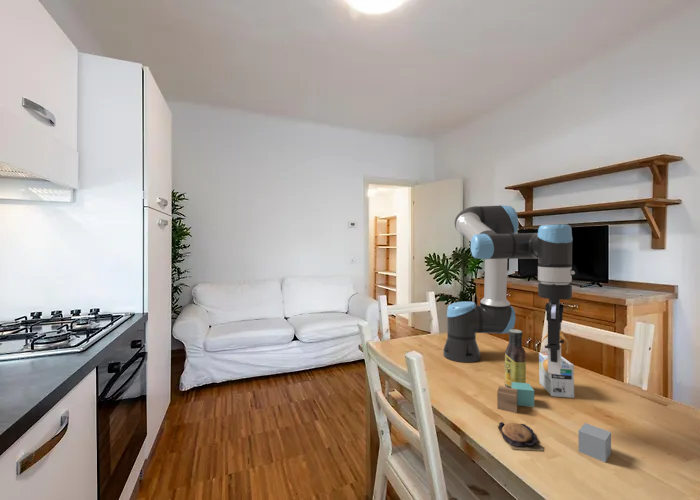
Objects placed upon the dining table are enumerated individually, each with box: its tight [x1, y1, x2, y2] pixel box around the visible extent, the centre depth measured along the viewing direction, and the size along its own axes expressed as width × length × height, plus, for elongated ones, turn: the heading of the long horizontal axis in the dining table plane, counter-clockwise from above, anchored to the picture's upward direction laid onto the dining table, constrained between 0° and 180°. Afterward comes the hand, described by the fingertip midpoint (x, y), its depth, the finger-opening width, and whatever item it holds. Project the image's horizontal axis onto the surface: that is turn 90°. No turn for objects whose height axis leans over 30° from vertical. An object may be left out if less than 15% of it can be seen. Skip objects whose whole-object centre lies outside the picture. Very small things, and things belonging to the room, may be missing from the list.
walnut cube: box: [496, 385, 518, 414], centre depth 94 cm, size 5×5×5 cm
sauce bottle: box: [504, 328, 527, 388], centre depth 105 cm, size 6×6×20 cm
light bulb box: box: [538, 352, 575, 399], centre depth 104 cm, size 11×7×11 cm, turn 168°
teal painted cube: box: [512, 382, 535, 408], centre depth 97 cm, size 5×5×5 cm
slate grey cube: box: [577, 422, 612, 463], centre depth 73 cm, size 5×5×5 cm
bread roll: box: [497, 421, 545, 453], centre depth 79 cm, size 11×8×4 cm
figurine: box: [541, 330, 570, 374], centre depth 84 cm, size 8×6×12 cm
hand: (554, 369), depth 84 cm, fingers closed on figurine, 4 cm apart
